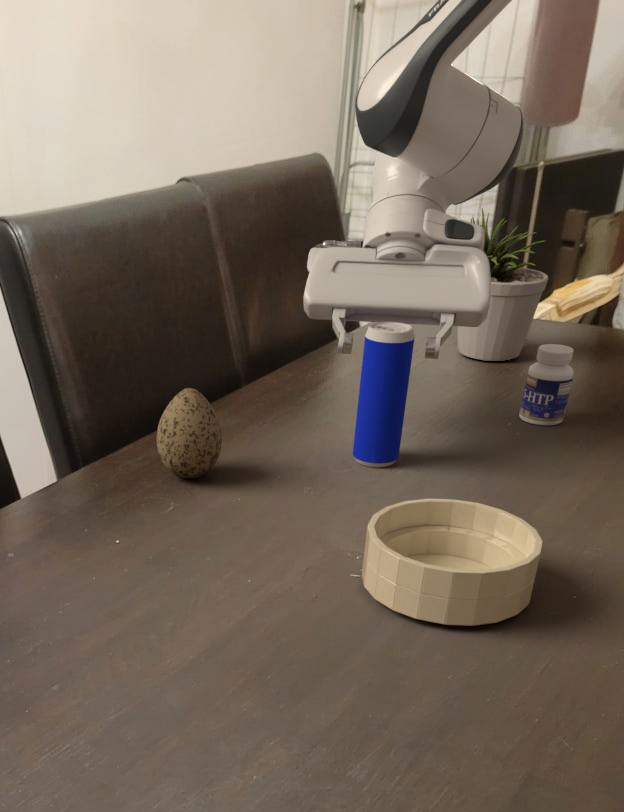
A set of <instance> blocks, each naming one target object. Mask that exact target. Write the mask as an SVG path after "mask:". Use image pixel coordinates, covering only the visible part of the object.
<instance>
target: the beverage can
mask: <svg viewBox="0 0 624 812" xmlns="http://www.w3.org/2000/svg"><path fill="white" fill-rule="evenodd" d="M415 337H416V336H415V333H414V327H413V326H412V325H411V324H405V323H399V322H373V323H372V324H369V326H368V327H367V330H366V332H365V334H364V343H363V352H362V354H363V355H362V362H361V372H360V380H359V390H358V398H357V399H358V400H357V408H356V419H355V420H356V421H355V428H354V436H353V447H352V457H353V458H354V460H355V461H356V462H357V463H358V464H359V465H362V466H365V467H368V468H387V467H390V466H392V465H394V464H395V463H396V462H397V461H398V459H399V457H400V449H401V443H402V435H403V428H404V419H405V412H406V404H407V398H408V390H409V383H410V374H411V366H412V359H413V354H414V353H413V352H414V345H415Z"/></svg>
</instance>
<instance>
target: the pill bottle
mask: <svg viewBox="0 0 624 812" xmlns="http://www.w3.org/2000/svg"><path fill="white" fill-rule="evenodd" d="M573 354H574V348H572V347H571V346H569V345H564V344H558V343H546V344H541V345H539V346H538V348H537V353H536V358H535V359H536V361H537V362H534V363H532V364H531V365H530V366H529V367H528V370H527V374H526V379H525V384H524V388H523V393H522V398H521V403H520V408H519V412H518V414H519V415H518V416H519V418H520V420H522V421H523V422H525V423H528V424H532V425H537V426H555V425H559V424H561V423H562V422H563V421H564V419H565V414H566V410H567V406H568V401H569V397H570V393H571V389H572V385H573V380H574V377H575V372H574V369H573V367H572V366H570V365H569V364H570V363H571V362H572V360H573V356H574V355H573Z"/></svg>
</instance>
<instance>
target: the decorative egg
mask: <svg viewBox="0 0 624 812" xmlns="http://www.w3.org/2000/svg"><path fill="white" fill-rule="evenodd" d="M222 444H223V433H222V427H221V423H220V421H219V417H218V415H217V413H216V411H215V409H214V407H213V406H212V405H211V403H210V401H208V399H207V398H206V397H205V396H204V395H203V393H201V392H200V391H198V390H197V389H195V388H192V387H187V388H184V389H182V390H181V391H179V392H178V393H177V394H176V395H175V396H173V398H172V399H171V400H170V401H169V403H168V404H167V406H166V407H165V408H164V411H163V413H162V415H161V417H160V418H159V422H158V425H157V432H156V449H157V453H158V455H159V458H160V460H161V462H162V464H163V465H164V467H165V468H166V469H167V471H169V472H170V473H172V474H173V475H175V476H177V477H180V478H183V479H196V478H199V477H202V476H204V475H206V474H207V473H208V472H210V471H211V469H212V468H213V467H214V466H215V464H216V463H217V461H218V459H219V457H220V454H221V451H222V446H223V445H222Z"/></svg>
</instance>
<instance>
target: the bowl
mask: <svg viewBox="0 0 624 812" xmlns="http://www.w3.org/2000/svg"><path fill="white" fill-rule="evenodd" d="M370 518H371V519H370V520H369V521H368V522H367V526H366V535H365V543H364V552H363V560H362V570H361V579H362V583H363V587H364V588H365V590H366V591H367V592H368V593H369V594H370V595H371V596H372V598H373V599H374V600H376V601H377V602H379V603H380V604H382V605H384V606H385V607H387V608H388V609H390V610H391V611H392V612H393V611H394V612H395V613H398V614H402V615H404V616H407V617H410V618H412V619H414V620H420V621H424V622H429V623H434V624H441V625H445V626H472V627H473V626H480V625H488V624H496V623H500V622H503V621H505V620H507V619H510V618H512V617H515V616H517V615H519V614H520V613H521V612H523V610H524V609H525V608H526V607H528V606H529V605H530V601H531V598H532V592H533V588H534V584H535V579H536V576H537V571H538V567H539V562H540V558H541V553H542V550H543V549H542V548H543V544H544V543H543V539H542V538H541V536H540V534H539V532H538V530H537V529H536V528H535V527H534V526H532V525H531V524H529V523H528V522H527V521H526V520H524V519H523V518H521V517H519V516H517V515H515V514H513V513H511V512H509V511H506V510H504V509H501V508H497V507H495V506H490V505H487V504H483V503H480V502H474V501H468V500H461V499H453V498H421V499H411V500H405V501H400V502H397V503H394V504H390V505H386V506H385V507H383V508H382V509H380V510H379V511H377V512H376V513H375V512H374V514H373V515H372V516H371V517H370Z"/></svg>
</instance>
